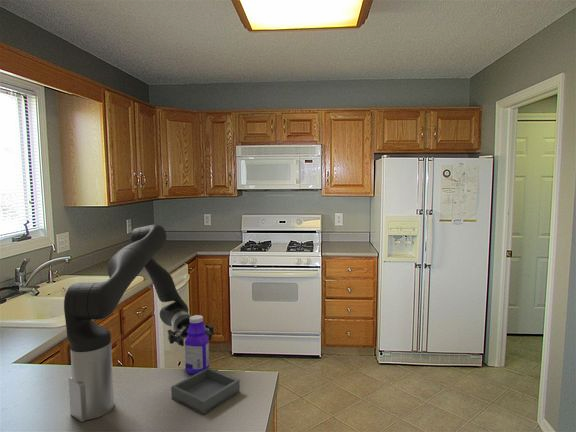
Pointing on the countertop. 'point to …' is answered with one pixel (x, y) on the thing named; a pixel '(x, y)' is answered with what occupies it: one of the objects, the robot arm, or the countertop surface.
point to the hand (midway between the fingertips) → (196, 340)
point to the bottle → (196, 346)
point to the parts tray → (205, 390)
